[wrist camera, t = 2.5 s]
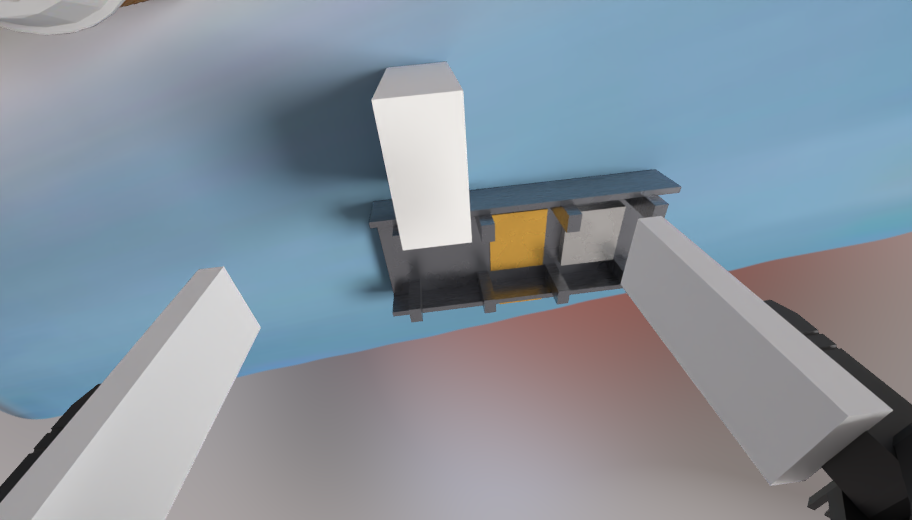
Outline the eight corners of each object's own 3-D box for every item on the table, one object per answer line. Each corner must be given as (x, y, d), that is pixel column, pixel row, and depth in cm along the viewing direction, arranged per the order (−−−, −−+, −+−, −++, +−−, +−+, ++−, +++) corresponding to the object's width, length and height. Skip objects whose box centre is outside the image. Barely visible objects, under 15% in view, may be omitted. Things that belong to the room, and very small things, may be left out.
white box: (406, 180, 28) (402, 250, 20) (386, 67, 23) (371, 99, 15) (455, 174, 28) (471, 242, 20) (446, 61, 23) (463, 90, 15)
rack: (396, 295, 35) (393, 333, 31) (373, 201, 28) (366, 233, 24) (627, 267, 35) (655, 300, 31) (655, 169, 29) (694, 195, 25)
